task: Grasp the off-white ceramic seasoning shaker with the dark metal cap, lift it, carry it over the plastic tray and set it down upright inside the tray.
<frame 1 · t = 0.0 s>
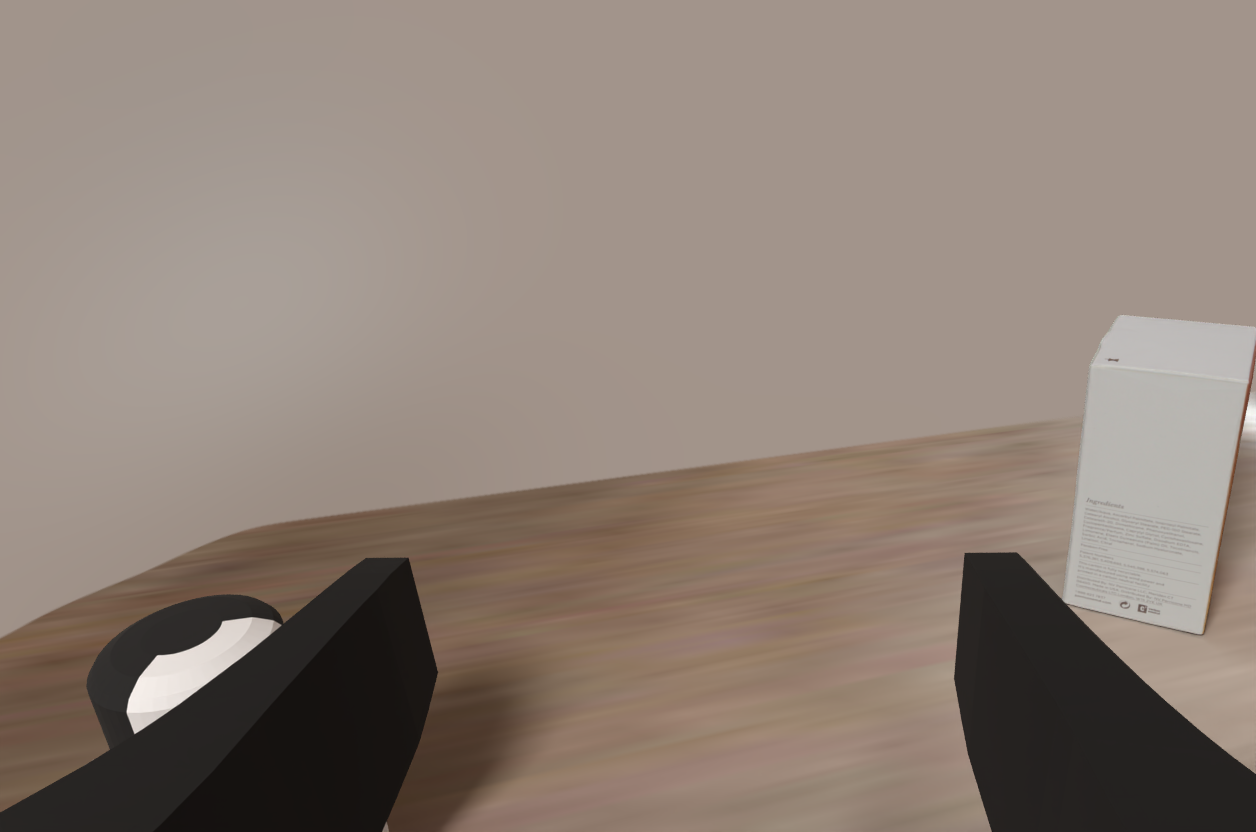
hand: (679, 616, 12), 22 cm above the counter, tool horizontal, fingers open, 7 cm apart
small box: (1141, 584, 48), on the counter
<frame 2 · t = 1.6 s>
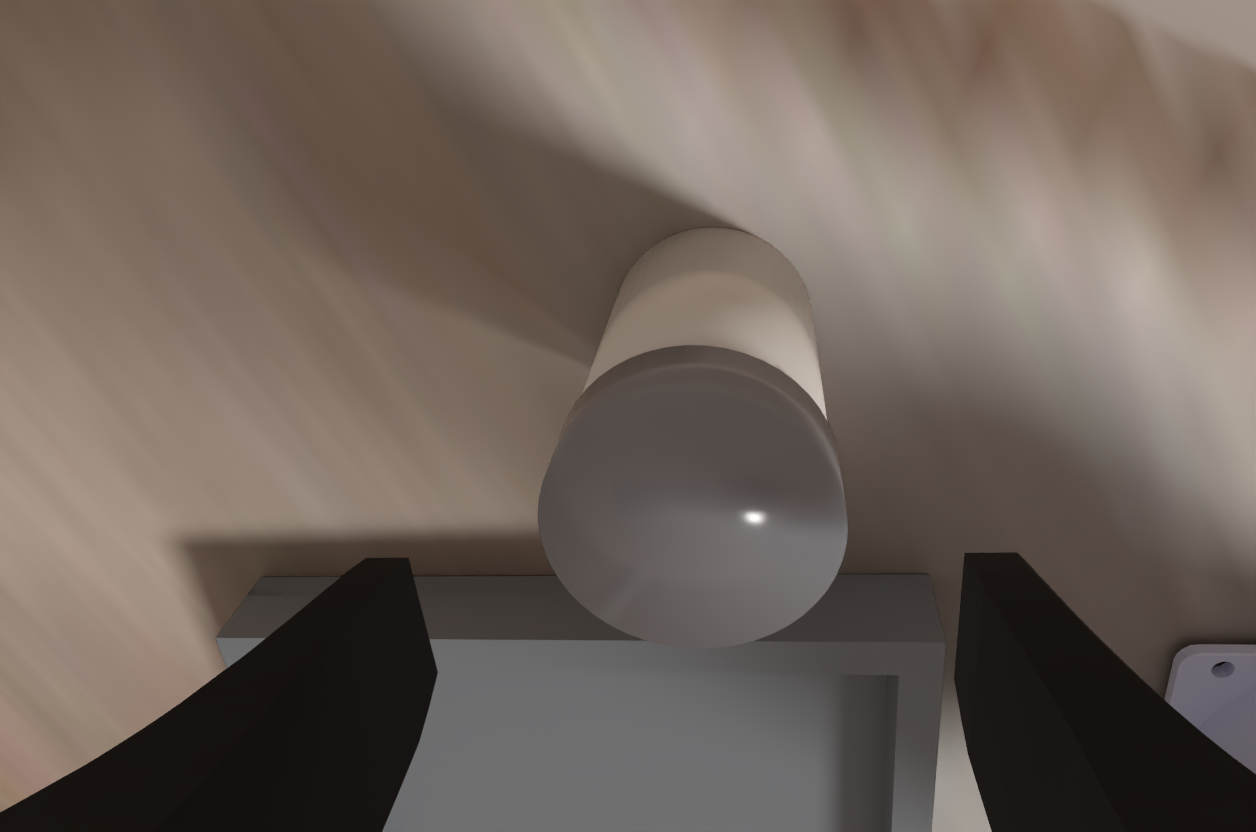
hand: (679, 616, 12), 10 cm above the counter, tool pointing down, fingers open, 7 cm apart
tray: (608, 786, 28), on the counter
shaker: (712, 323, 21), on the counter
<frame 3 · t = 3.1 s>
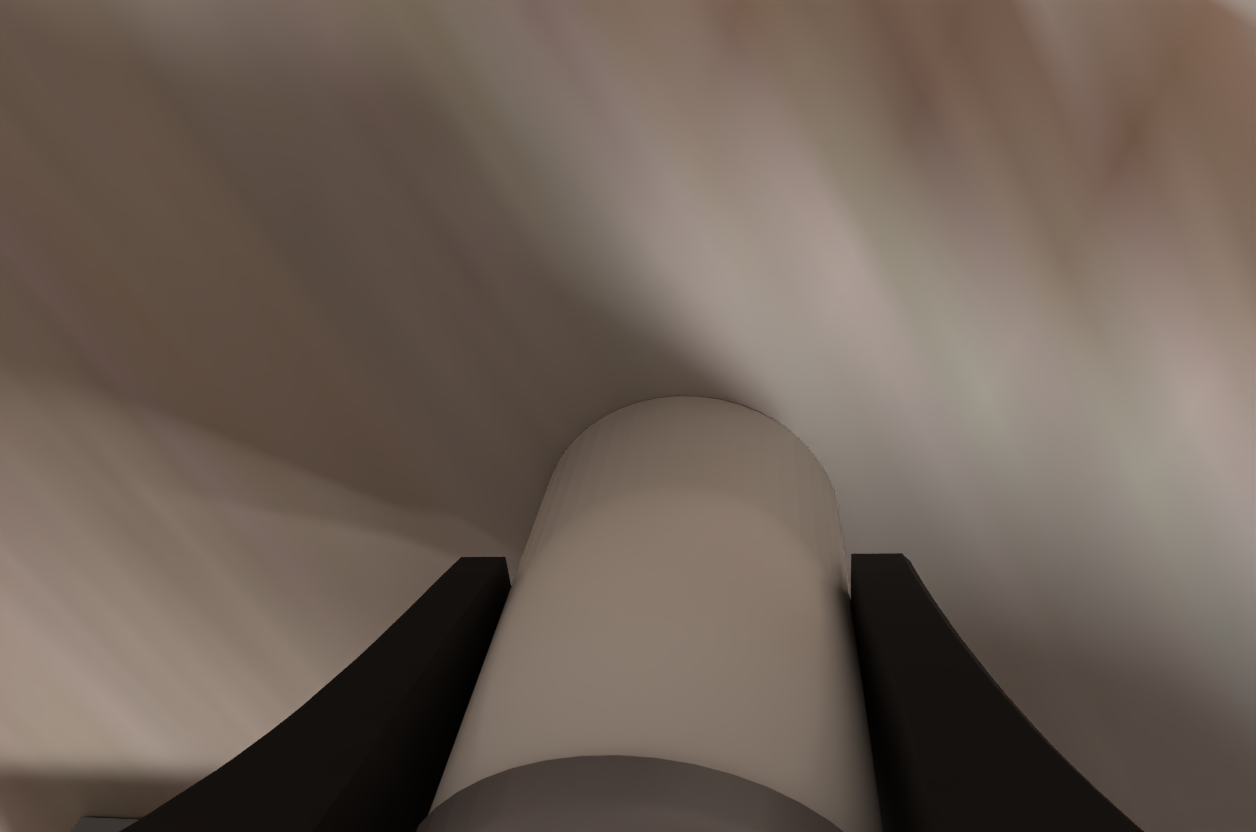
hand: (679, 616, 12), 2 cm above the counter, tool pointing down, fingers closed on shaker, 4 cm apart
shaker: (689, 527, 14), on the counter, touching gripper
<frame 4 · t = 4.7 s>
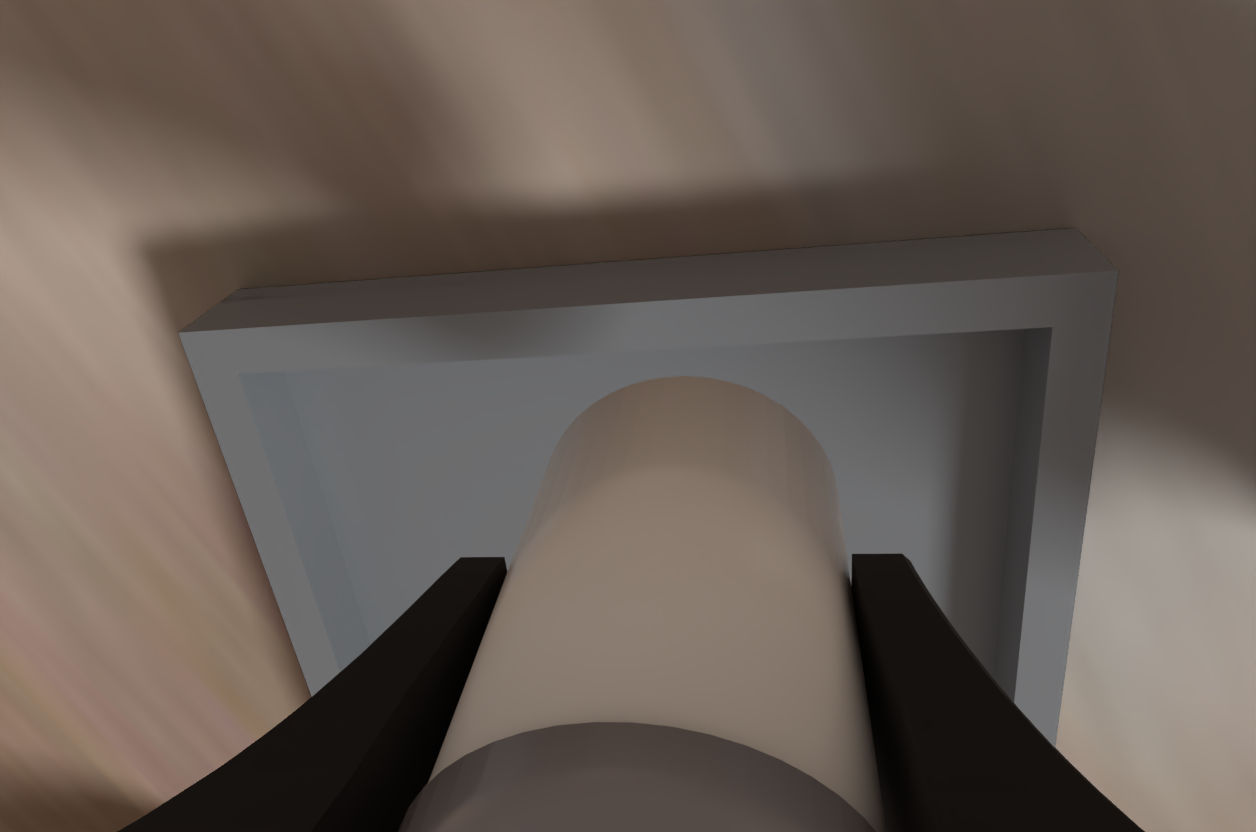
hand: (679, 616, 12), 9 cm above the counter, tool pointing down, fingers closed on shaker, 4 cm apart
tray: (663, 564, 24), on the counter
shaker: (688, 508, 14), point 7 cm above the counter, touching gripper
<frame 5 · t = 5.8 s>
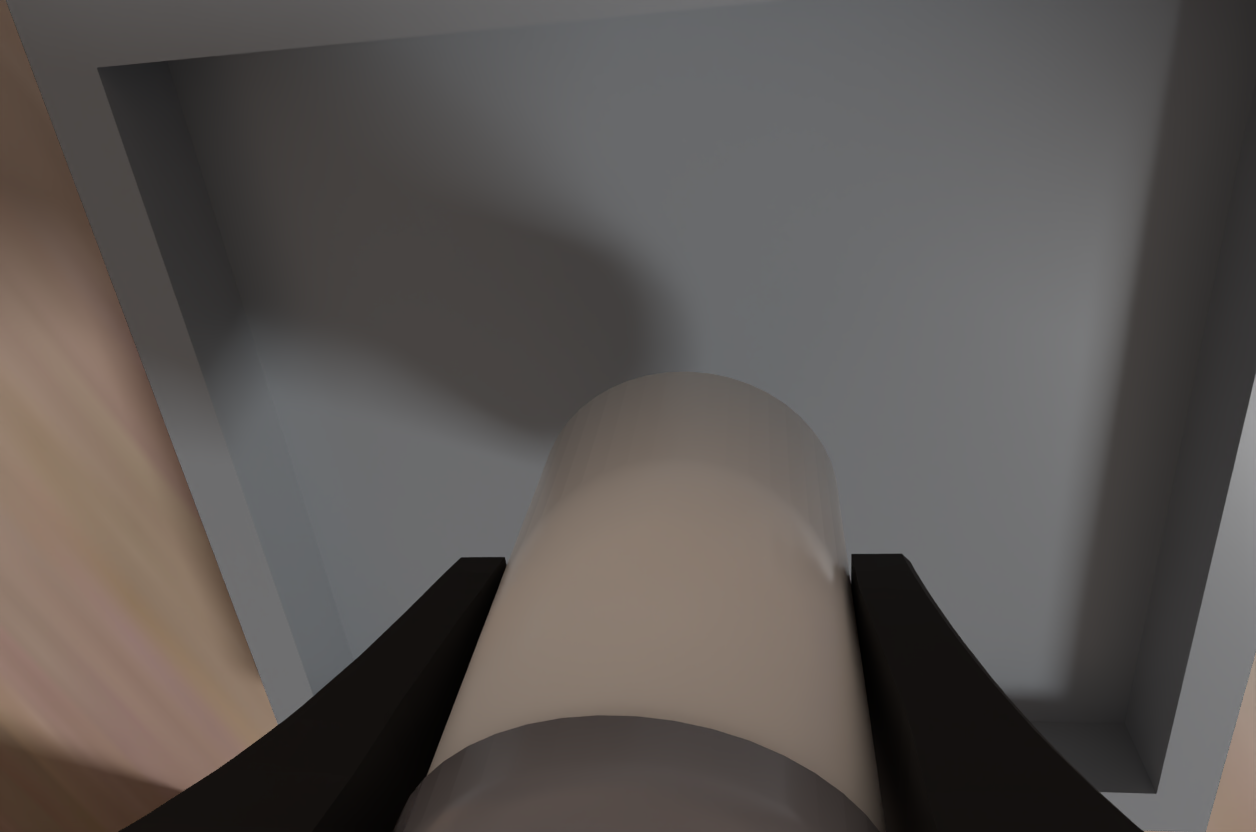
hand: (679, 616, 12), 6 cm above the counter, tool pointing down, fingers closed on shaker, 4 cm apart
tray: (704, 407, 17), on the counter
shaker: (687, 504, 14), point 4 cm above the counter, touching gripper
when the fingers open (4 cm above the counter, at t = 6.6 s): shaker drops 1 cm, resting on tray.
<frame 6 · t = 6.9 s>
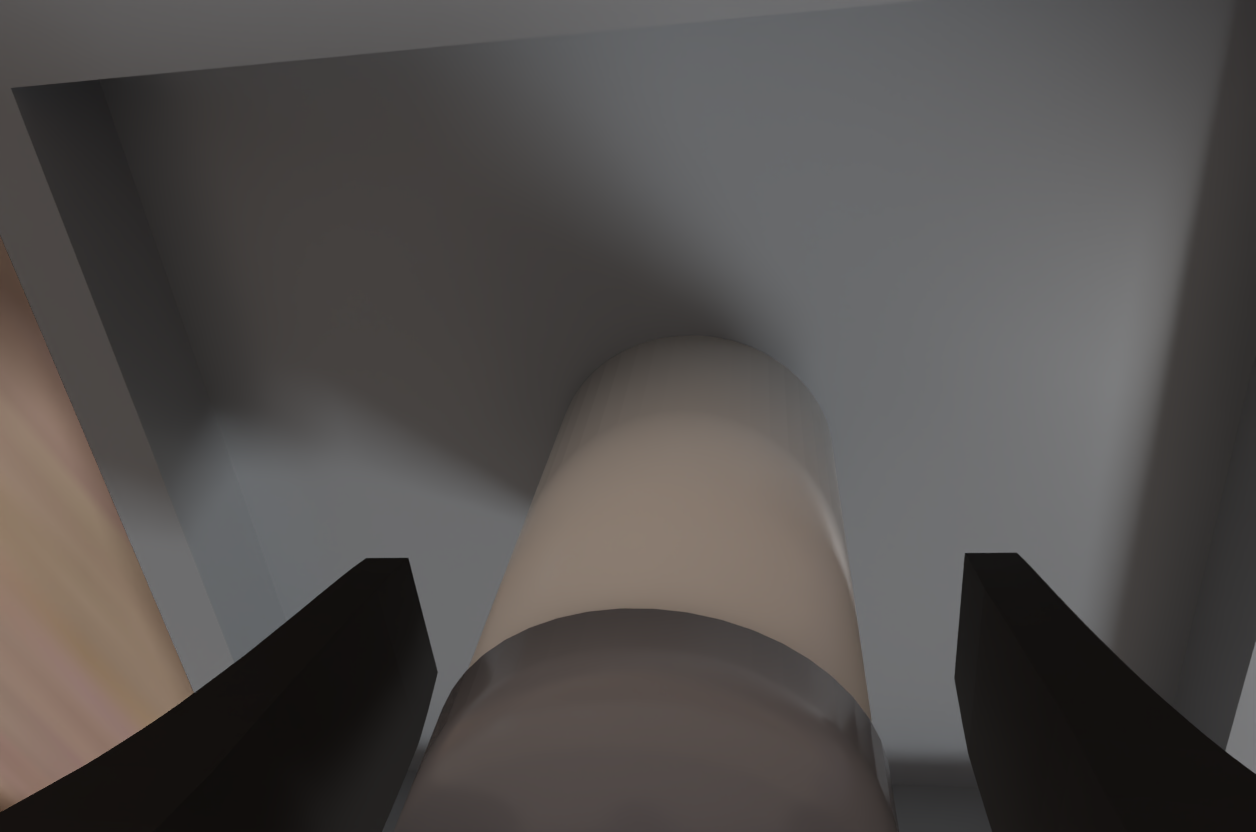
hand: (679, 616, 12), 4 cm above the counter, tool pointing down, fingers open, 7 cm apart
tray: (697, 453, 16), on the counter
shaker: (693, 461, 15), point 1 cm above the counter, touching tray
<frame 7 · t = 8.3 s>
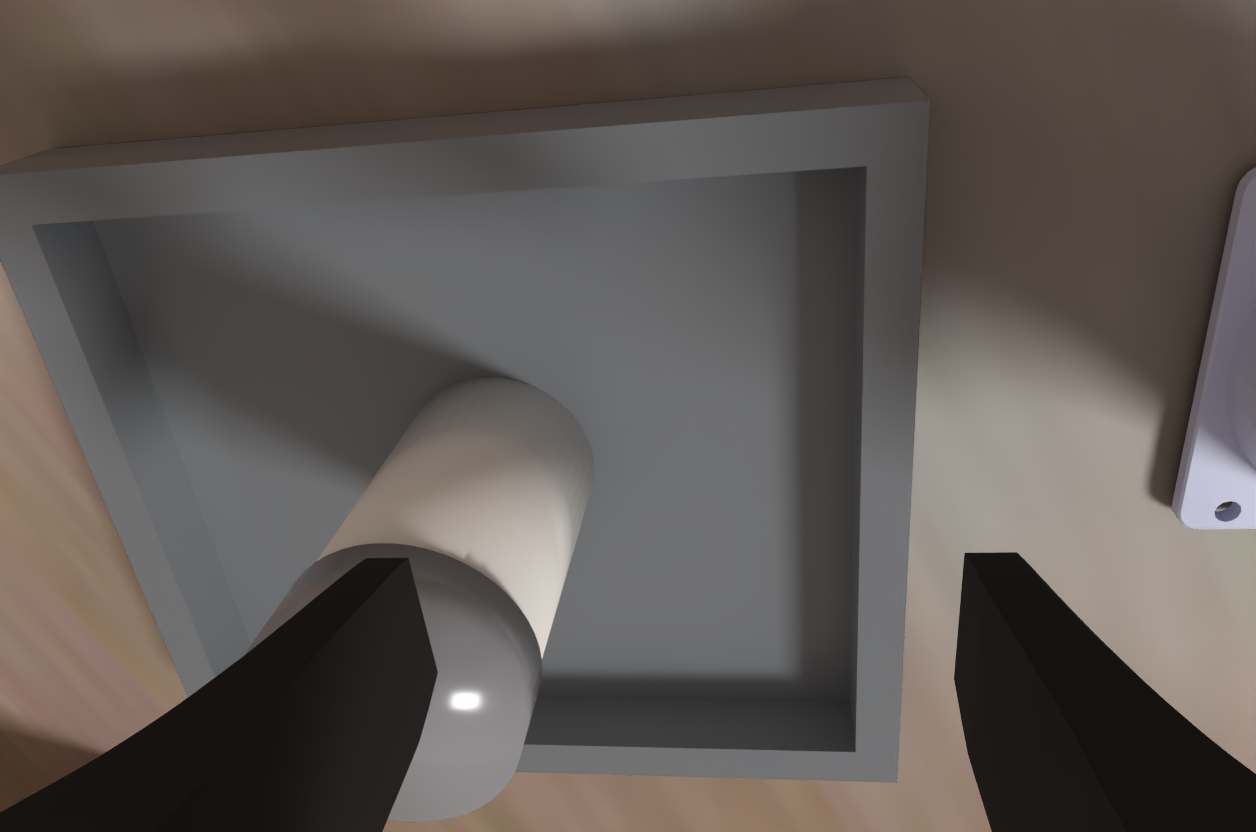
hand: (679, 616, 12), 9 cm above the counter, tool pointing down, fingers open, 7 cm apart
tray: (510, 456, 23), on the counter
shaker: (500, 462, 22), point 1 cm above the counter, touching tray
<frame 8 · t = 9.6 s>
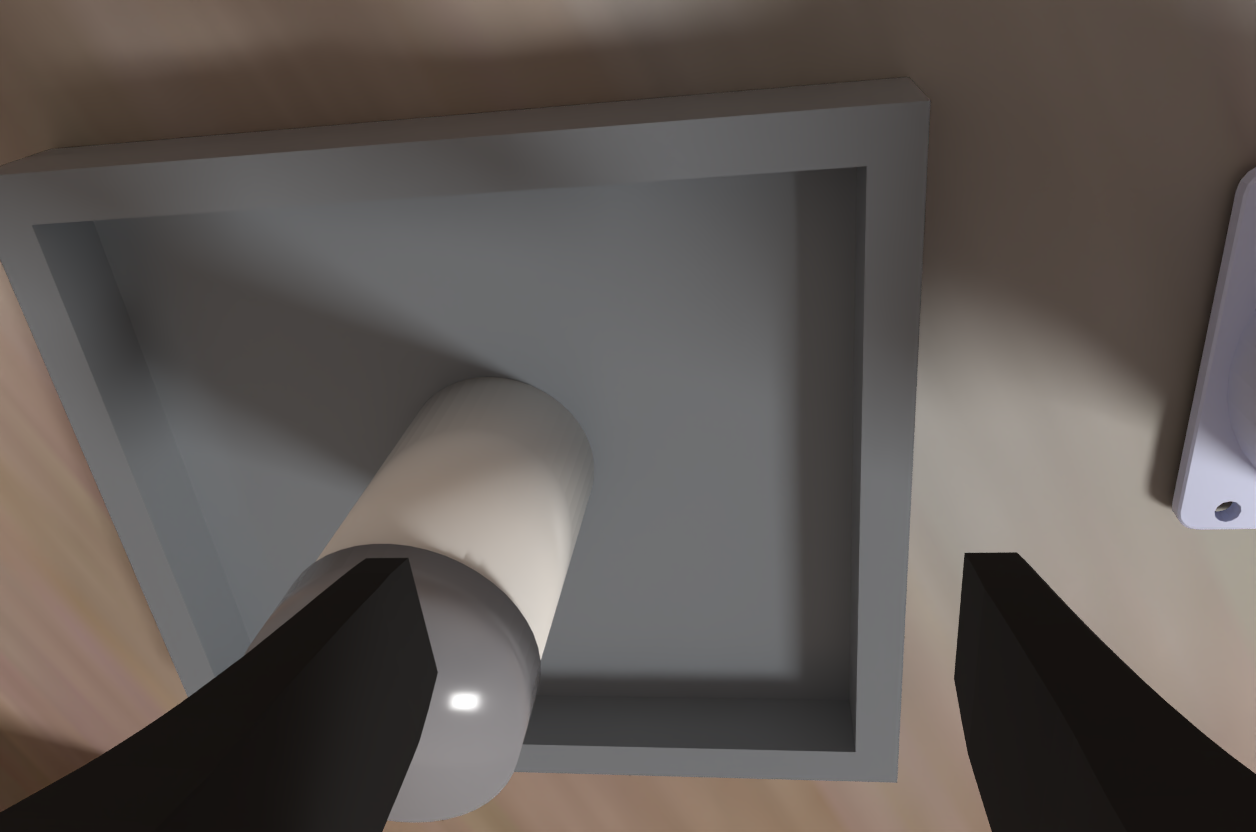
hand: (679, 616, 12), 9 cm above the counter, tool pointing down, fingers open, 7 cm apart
tray: (510, 456, 23), on the counter
shaker: (500, 462, 22), point 1 cm above the counter, touching tray
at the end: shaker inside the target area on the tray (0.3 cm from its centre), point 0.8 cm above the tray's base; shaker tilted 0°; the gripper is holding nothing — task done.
